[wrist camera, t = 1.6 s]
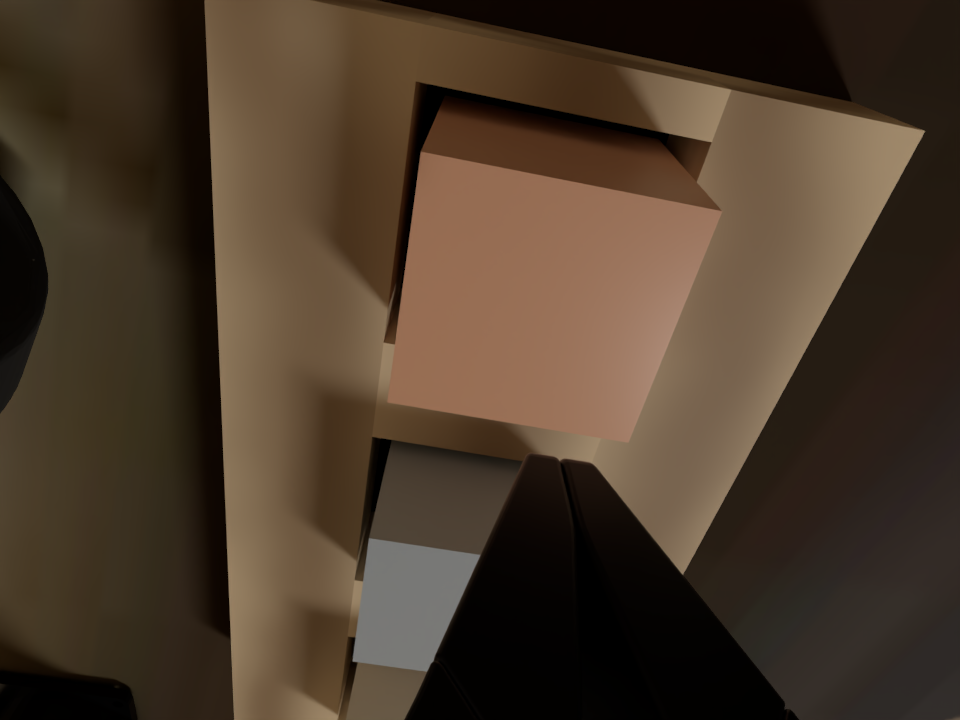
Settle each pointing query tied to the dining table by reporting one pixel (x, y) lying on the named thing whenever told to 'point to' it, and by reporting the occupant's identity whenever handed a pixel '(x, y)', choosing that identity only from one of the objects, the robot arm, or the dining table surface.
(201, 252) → the dining table surface
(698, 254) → the brown cube
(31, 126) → the dining table surface
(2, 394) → the portable speaker
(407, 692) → the beige cube
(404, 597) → the grey cube
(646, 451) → the beige flat board
